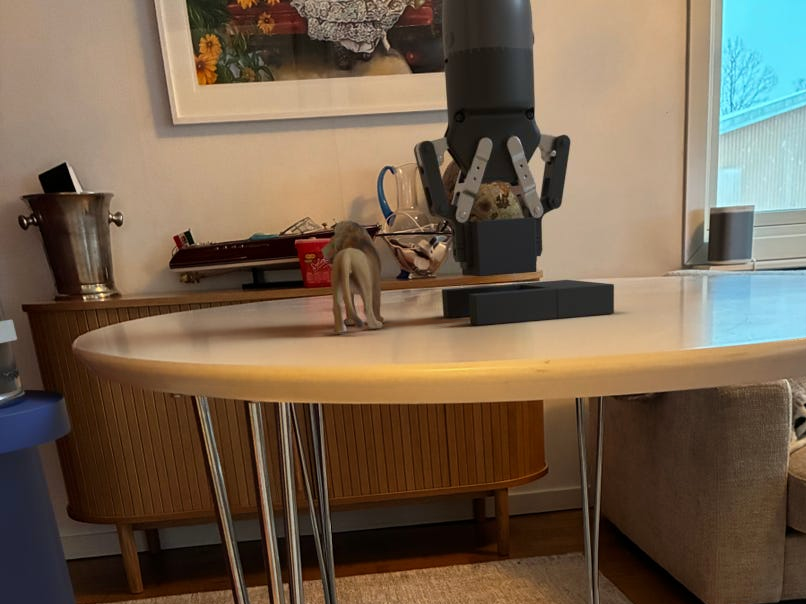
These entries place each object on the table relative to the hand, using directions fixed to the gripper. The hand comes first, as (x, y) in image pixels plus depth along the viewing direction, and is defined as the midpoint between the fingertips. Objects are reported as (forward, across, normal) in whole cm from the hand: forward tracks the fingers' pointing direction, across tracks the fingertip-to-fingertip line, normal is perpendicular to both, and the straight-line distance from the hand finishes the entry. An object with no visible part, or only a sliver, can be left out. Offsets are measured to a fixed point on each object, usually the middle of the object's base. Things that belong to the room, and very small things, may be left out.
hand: (498, 265), depth 87 cm
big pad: (+5, -2, 0) cm, 5 cm away
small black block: (+1, 0, 0) cm, 1 cm away
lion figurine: (+5, +13, -3) cm, 14 cm away
